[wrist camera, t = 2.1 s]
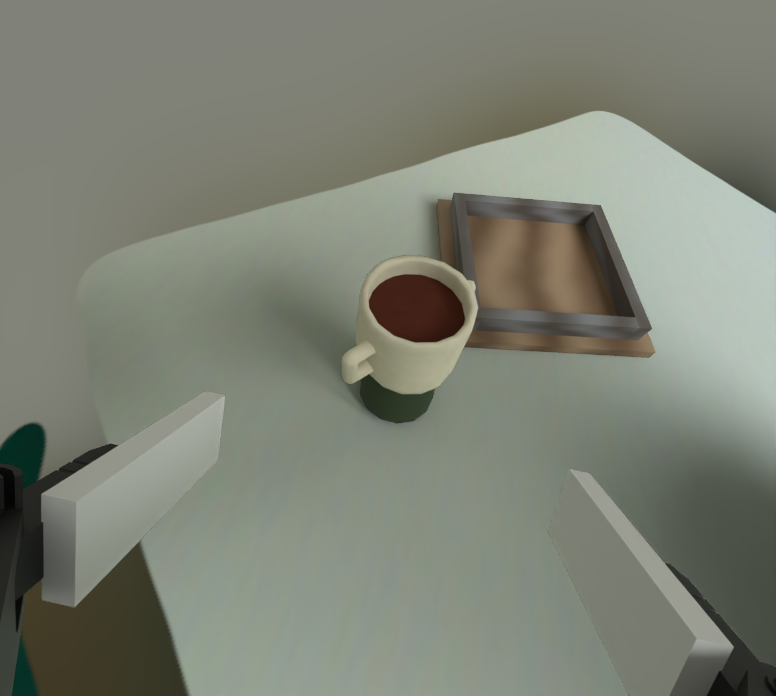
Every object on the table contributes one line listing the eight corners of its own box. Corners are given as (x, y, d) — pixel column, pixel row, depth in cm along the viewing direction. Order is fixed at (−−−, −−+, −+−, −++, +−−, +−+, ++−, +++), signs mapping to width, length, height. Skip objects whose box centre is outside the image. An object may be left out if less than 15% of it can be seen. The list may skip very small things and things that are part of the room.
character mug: (416, 333, 37) (446, 227, 26) (468, 388, 35) (525, 296, 24) (320, 394, 33) (306, 298, 22) (370, 462, 30) (383, 392, 19)
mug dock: (594, 219, 49) (608, 199, 46) (648, 357, 38) (670, 341, 36) (436, 206, 47) (441, 184, 45) (448, 345, 37) (456, 328, 34)
